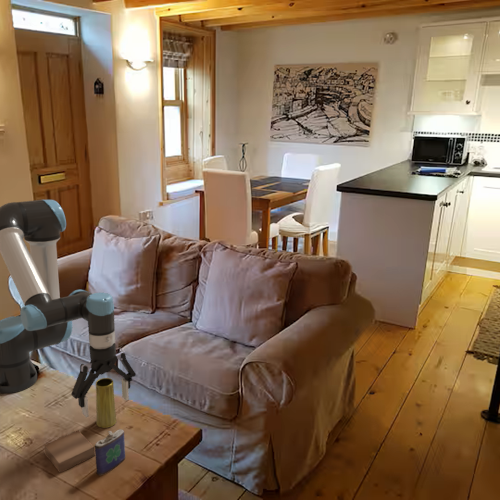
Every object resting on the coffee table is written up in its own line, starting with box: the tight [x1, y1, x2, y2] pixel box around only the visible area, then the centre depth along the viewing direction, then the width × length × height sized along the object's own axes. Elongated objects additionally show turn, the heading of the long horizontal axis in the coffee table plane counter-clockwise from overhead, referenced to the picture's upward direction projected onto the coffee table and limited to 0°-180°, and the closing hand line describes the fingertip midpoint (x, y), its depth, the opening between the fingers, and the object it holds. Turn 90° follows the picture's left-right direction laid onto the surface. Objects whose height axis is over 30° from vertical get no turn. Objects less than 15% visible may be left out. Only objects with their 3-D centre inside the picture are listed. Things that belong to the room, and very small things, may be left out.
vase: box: [95, 377, 117, 429], centre depth 148 cm, size 6×6×14 cm
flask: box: [94, 429, 126, 476], centre depth 130 cm, size 9×3×11 cm, turn 144°
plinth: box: [43, 430, 96, 473], centre depth 134 cm, size 10×10×3 cm
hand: (106, 406), depth 148 cm, fingers open, 13 cm apart
